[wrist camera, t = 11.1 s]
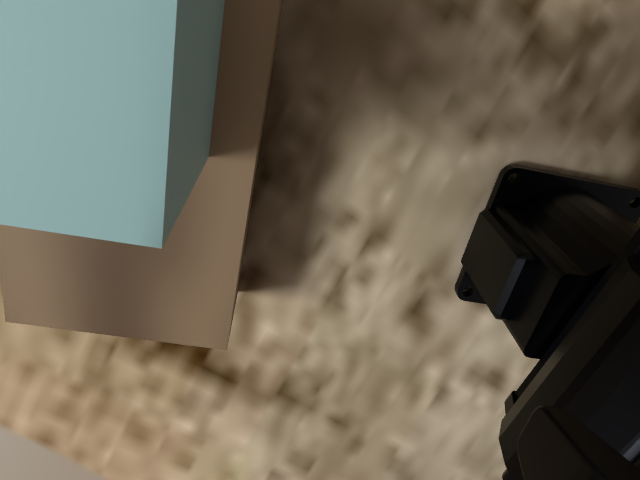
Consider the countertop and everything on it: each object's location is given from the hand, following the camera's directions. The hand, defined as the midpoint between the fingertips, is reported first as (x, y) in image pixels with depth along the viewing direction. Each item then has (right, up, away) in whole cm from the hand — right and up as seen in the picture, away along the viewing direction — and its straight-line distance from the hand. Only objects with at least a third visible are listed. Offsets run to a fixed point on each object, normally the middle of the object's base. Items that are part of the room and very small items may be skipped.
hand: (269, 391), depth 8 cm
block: (-5, +8, +6) cm, 11 cm away
